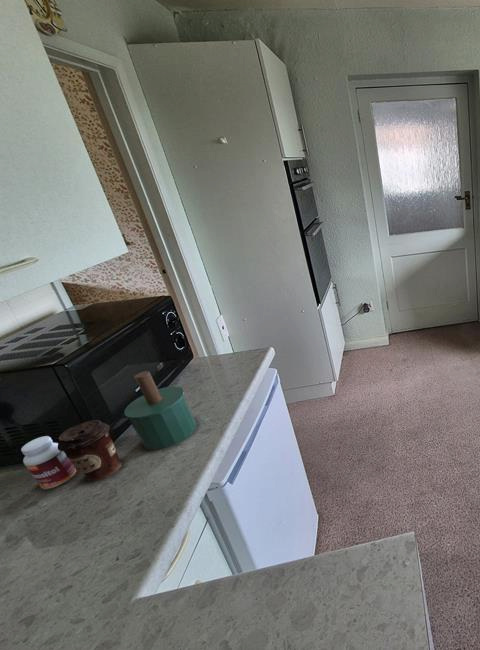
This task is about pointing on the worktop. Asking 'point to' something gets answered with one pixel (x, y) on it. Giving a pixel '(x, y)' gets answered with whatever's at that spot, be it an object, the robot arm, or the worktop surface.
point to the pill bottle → (47, 462)
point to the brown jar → (90, 449)
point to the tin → (165, 427)
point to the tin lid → (152, 398)
